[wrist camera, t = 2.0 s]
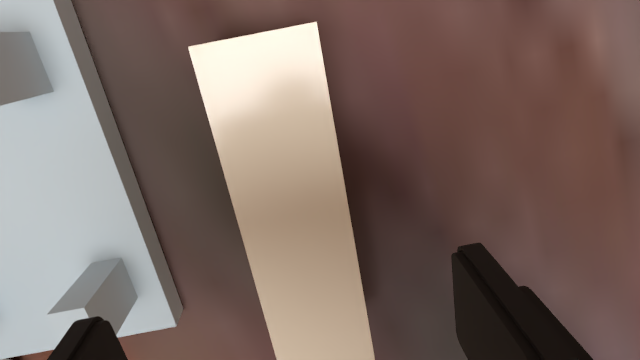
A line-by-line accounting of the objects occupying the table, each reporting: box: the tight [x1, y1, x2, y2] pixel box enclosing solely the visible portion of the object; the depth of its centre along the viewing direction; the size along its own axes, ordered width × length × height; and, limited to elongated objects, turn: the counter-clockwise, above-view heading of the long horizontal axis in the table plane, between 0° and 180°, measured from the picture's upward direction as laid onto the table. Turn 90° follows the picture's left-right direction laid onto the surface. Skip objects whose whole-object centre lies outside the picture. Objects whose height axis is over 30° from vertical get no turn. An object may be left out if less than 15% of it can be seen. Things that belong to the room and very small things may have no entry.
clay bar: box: [188, 22, 375, 360], centre depth 19 cm, size 16×4×6 cm, turn 10°
